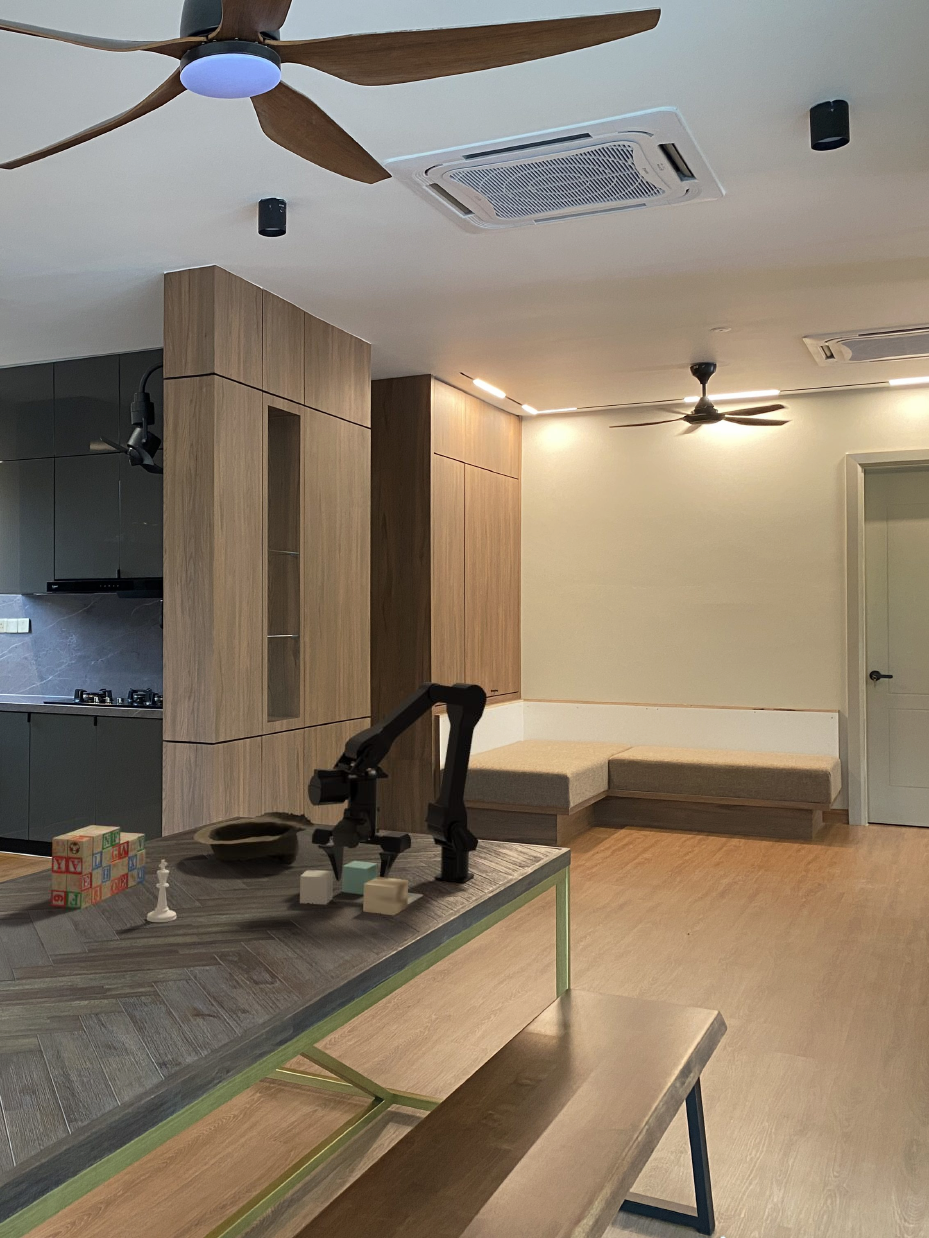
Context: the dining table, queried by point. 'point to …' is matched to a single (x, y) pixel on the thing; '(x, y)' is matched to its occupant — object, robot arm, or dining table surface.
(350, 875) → the teal block
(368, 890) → the maple block
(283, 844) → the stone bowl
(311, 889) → the beige block
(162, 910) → the chess piece
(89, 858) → the stack of blocks
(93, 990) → the dining table surface
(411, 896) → the card
